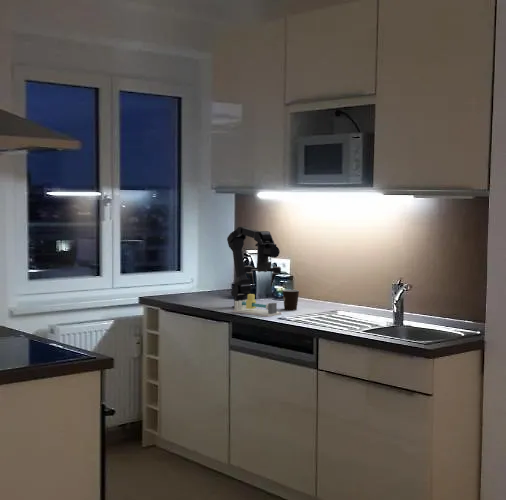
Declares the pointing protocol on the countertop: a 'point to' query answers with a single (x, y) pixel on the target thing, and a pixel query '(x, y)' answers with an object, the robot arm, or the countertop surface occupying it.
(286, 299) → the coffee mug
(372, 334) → the countertop surface
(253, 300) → the sleeve
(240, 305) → the cable comb
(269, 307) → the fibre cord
